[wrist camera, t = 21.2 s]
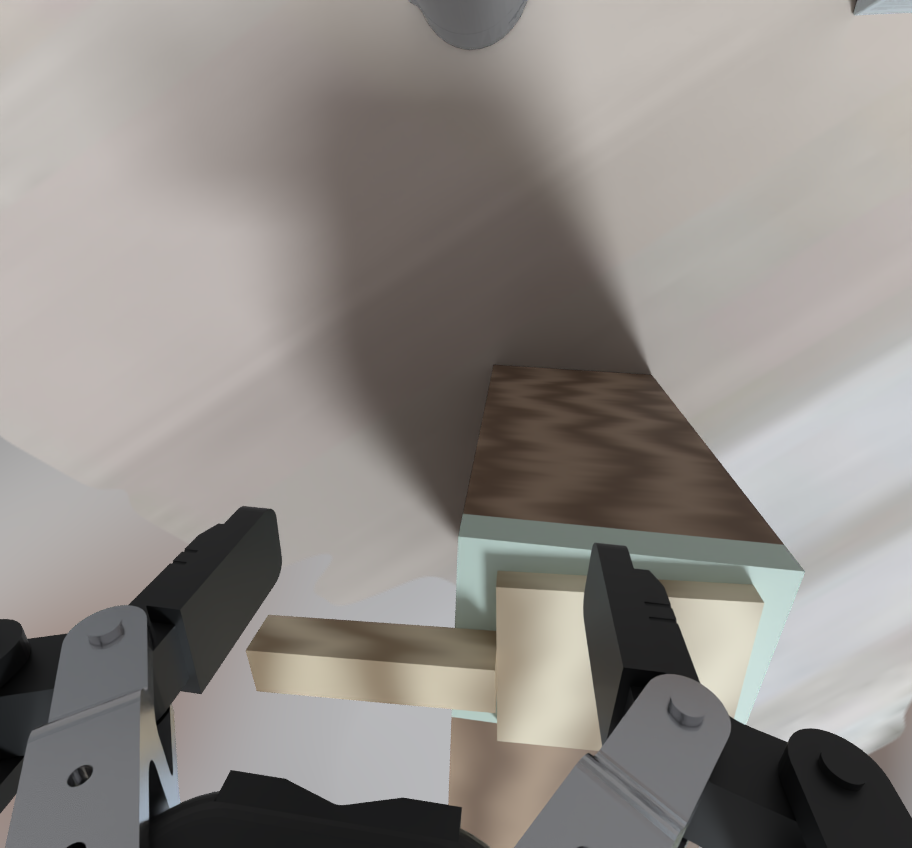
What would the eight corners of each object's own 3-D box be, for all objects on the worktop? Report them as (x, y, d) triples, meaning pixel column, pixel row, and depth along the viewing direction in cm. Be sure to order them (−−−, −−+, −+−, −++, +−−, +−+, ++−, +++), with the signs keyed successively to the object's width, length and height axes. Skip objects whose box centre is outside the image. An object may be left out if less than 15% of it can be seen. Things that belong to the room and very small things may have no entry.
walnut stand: (481, 564, 62) (447, 843, 35) (493, 364, 52) (458, 536, 24) (612, 578, 60) (684, 883, 33) (651, 374, 50) (805, 571, 23)
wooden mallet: (289, 701, 31) (270, 740, 29) (254, 557, 27) (229, 589, 24) (714, 741, 28) (731, 789, 25) (753, 584, 23) (778, 624, 21)
